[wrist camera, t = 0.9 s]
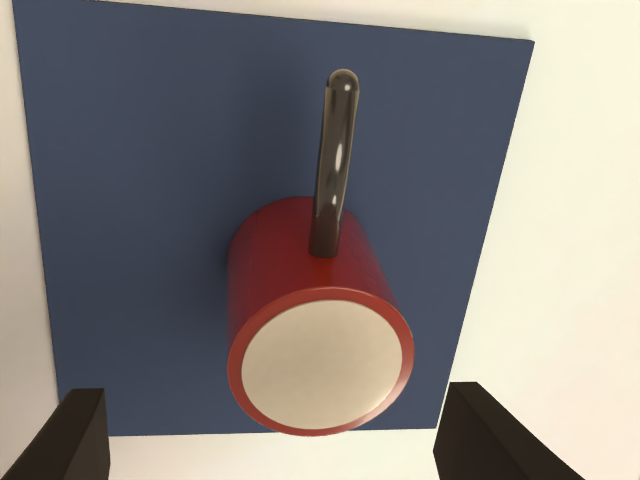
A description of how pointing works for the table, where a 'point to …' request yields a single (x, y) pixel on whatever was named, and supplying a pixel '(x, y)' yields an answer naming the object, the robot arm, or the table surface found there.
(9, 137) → the table surface
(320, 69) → the cloth
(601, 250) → the table surface
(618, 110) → the table surface
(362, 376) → the pot
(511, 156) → the table surface
